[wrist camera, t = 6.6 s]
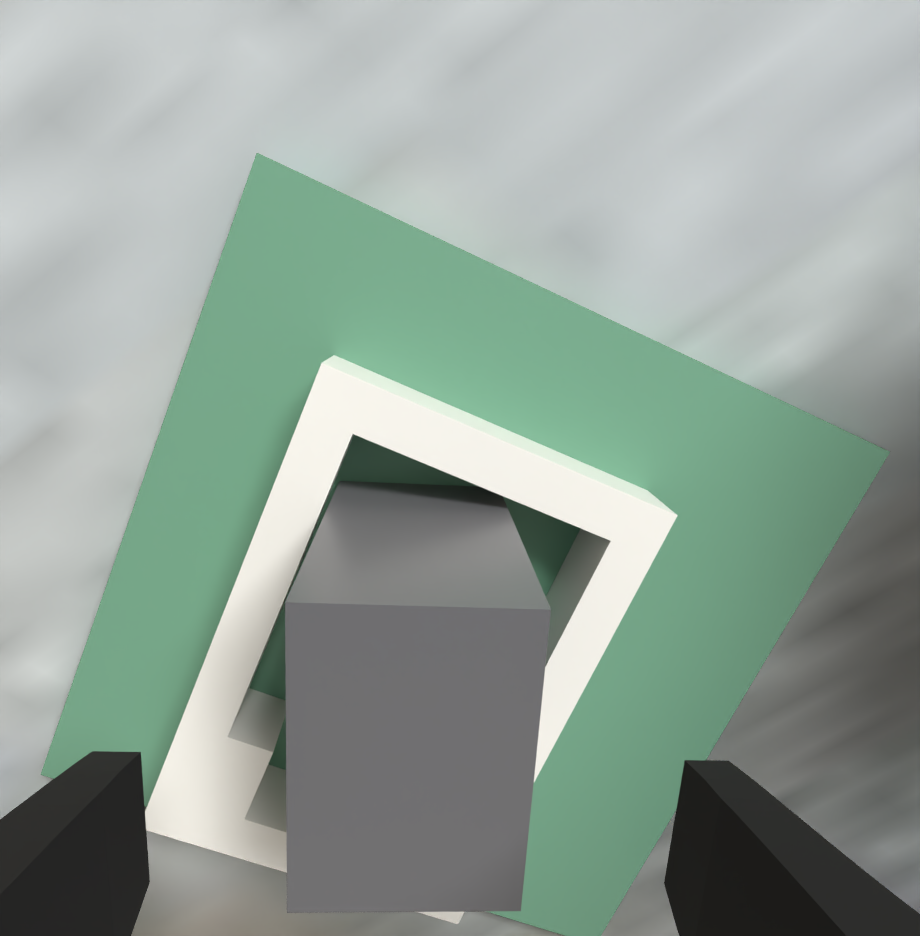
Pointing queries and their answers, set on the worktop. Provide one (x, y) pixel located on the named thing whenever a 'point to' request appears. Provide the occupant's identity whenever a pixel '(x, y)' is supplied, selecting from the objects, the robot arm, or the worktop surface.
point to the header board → (461, 464)
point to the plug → (412, 703)
